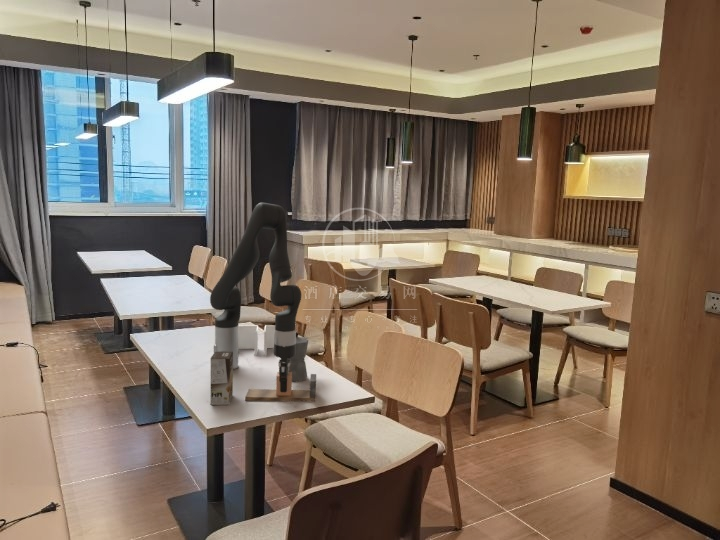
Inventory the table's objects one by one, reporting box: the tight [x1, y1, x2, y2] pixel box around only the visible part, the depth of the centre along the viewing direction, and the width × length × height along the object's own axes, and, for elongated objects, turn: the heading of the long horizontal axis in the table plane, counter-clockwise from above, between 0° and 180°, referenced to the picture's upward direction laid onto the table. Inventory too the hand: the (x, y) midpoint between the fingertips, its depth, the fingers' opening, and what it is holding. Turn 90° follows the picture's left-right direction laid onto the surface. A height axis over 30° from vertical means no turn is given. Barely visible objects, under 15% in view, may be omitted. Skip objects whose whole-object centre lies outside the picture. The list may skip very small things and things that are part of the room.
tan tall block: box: [275, 371, 293, 396], centre depth 202 cm, size 5×4×7 cm
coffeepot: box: [289, 332, 309, 382], centre depth 222 cm, size 15×9×18 cm, turn 147°
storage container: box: [238, 324, 275, 356], centre depth 257 cm, size 25×11×11 cm, turn 98°
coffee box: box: [209, 351, 234, 406], centre depth 197 cm, size 9×6×16 cm
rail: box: [245, 373, 317, 402], centre depth 202 cm, size 24×8×7 cm, turn 93°
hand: (284, 389), depth 203 cm, fingers closed on tan tall block, 4 cm apart
